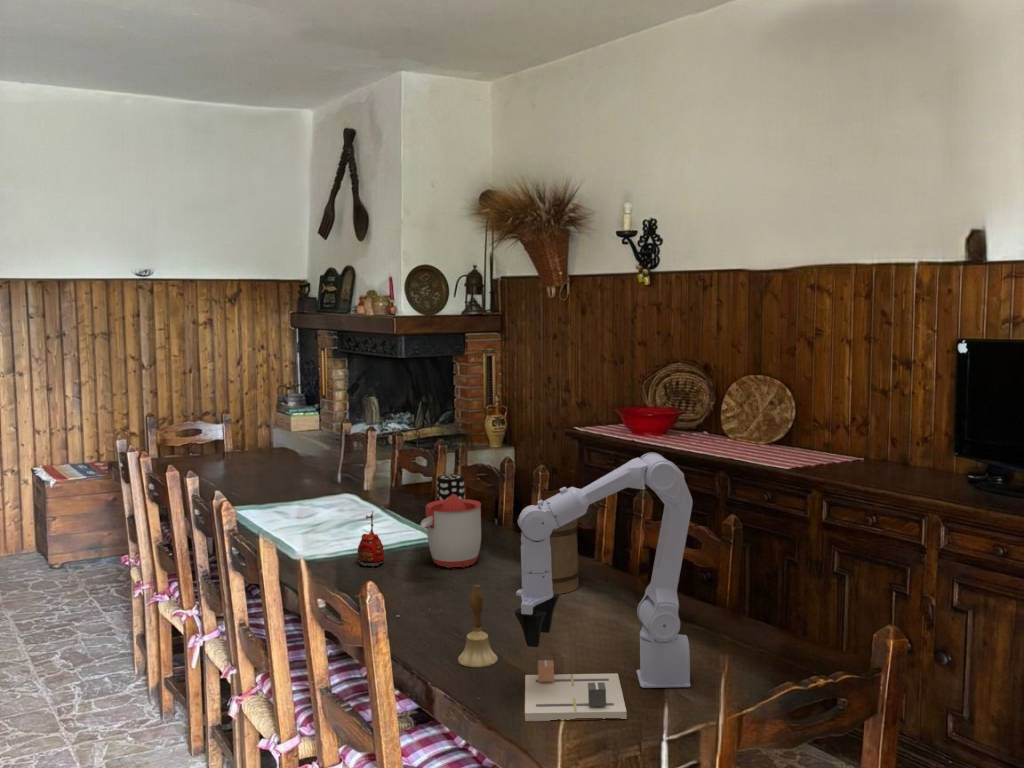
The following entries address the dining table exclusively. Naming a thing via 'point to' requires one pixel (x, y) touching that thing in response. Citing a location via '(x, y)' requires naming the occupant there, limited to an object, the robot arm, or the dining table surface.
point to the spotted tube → (450, 486)
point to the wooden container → (564, 558)
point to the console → (571, 697)
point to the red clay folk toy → (370, 547)
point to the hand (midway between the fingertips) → (538, 639)
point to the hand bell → (477, 637)
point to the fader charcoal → (596, 694)
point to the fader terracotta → (545, 670)
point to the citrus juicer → (453, 531)
